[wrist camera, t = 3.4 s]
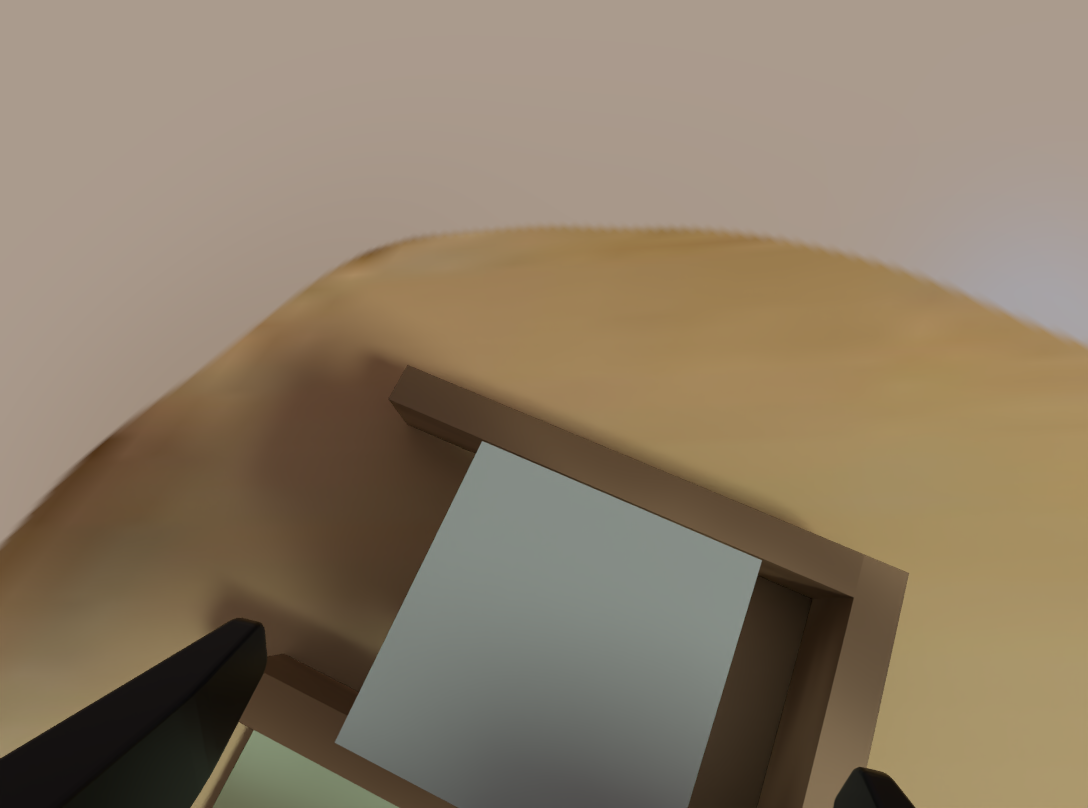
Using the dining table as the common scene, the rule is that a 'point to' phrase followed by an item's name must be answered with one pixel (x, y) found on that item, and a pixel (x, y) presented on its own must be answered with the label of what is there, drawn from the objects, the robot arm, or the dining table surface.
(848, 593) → the comb rack
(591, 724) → the tall grey square prism
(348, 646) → the dining table surface
